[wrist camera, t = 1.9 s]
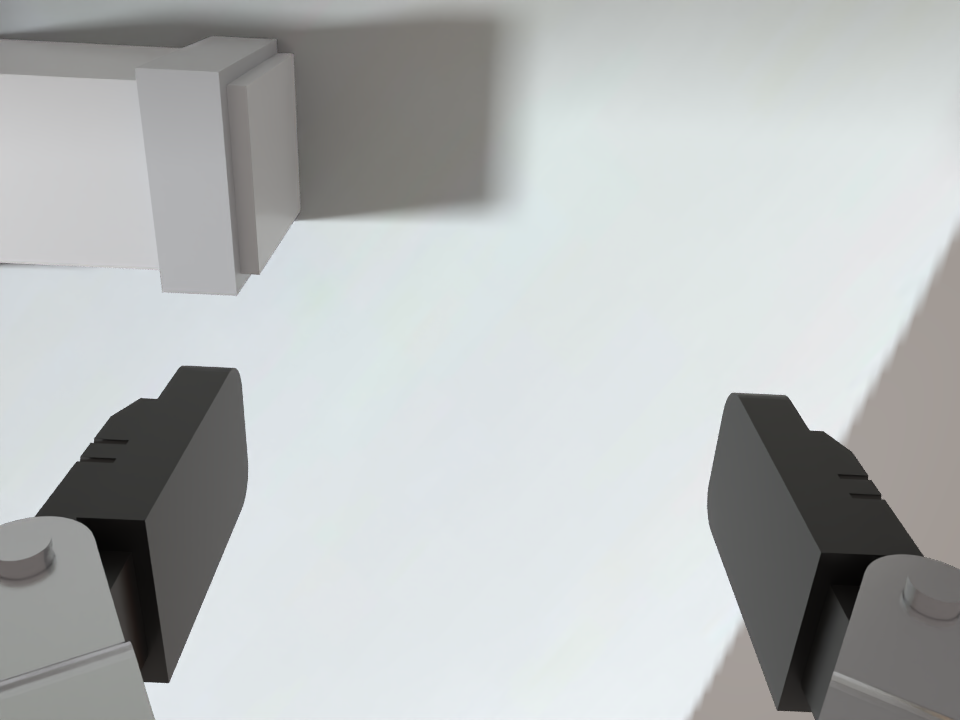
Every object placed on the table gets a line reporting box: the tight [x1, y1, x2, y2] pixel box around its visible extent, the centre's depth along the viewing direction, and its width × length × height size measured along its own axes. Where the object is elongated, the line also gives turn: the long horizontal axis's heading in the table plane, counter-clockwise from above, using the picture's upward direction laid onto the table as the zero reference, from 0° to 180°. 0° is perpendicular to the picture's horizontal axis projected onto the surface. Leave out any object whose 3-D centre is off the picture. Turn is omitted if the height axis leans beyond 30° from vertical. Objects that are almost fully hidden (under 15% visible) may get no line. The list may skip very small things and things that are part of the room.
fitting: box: [0, 36, 301, 296], centre depth 25 cm, size 10×6×7 cm, turn 87°
